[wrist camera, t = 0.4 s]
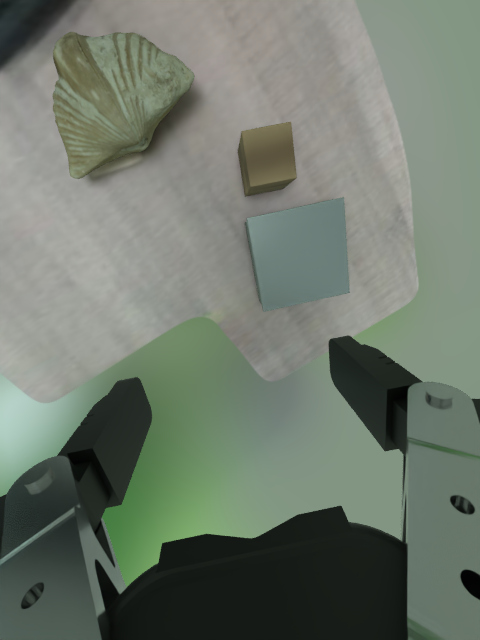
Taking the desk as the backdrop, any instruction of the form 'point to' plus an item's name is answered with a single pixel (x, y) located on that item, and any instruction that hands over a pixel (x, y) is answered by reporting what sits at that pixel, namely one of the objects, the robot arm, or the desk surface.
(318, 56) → the desk surface
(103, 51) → the seashell
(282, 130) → the brass block
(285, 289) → the grey-green square slab
